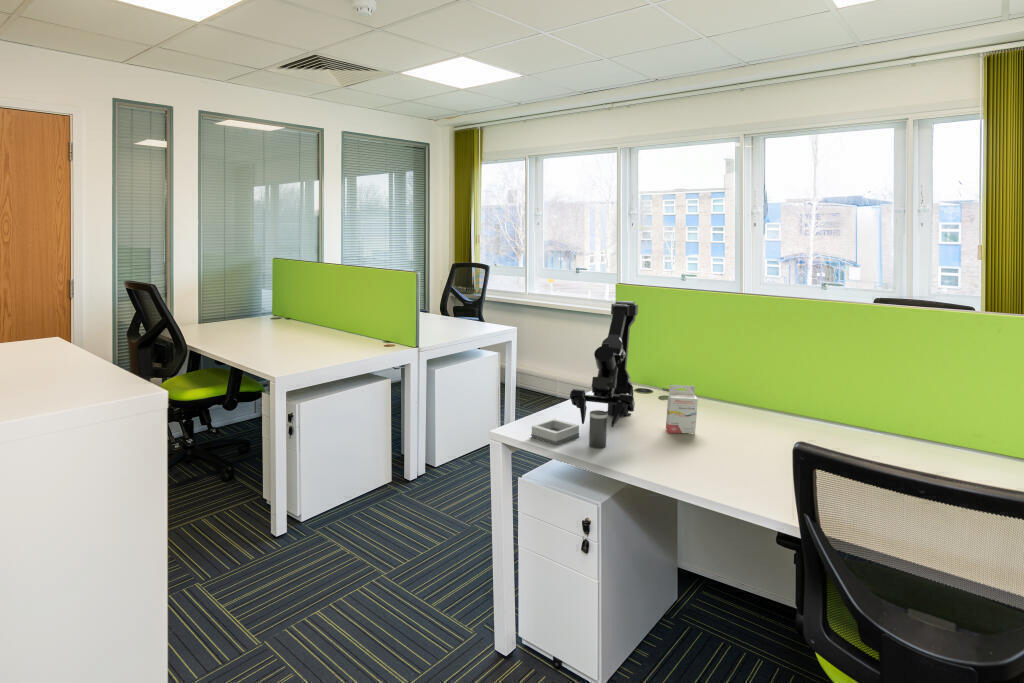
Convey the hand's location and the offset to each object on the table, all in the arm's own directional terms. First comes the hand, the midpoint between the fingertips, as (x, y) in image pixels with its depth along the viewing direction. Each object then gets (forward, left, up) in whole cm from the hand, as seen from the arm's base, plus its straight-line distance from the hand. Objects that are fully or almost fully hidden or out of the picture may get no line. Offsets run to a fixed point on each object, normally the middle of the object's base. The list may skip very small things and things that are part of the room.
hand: (597, 425), depth 179 cm
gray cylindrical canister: (-1, -1, -7) cm, 7 cm away
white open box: (+6, -13, -7) cm, 16 cm away
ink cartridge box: (-32, 0, -7) cm, 33 cm away
